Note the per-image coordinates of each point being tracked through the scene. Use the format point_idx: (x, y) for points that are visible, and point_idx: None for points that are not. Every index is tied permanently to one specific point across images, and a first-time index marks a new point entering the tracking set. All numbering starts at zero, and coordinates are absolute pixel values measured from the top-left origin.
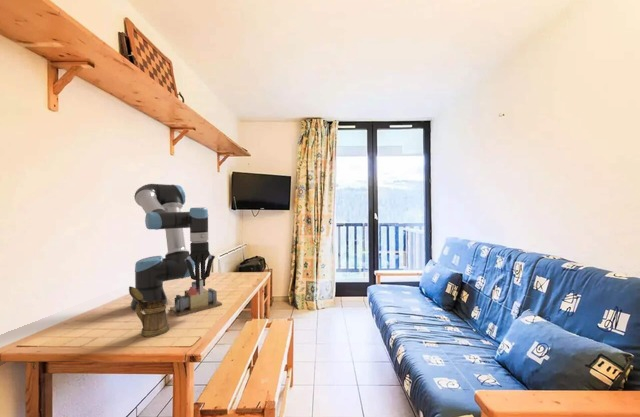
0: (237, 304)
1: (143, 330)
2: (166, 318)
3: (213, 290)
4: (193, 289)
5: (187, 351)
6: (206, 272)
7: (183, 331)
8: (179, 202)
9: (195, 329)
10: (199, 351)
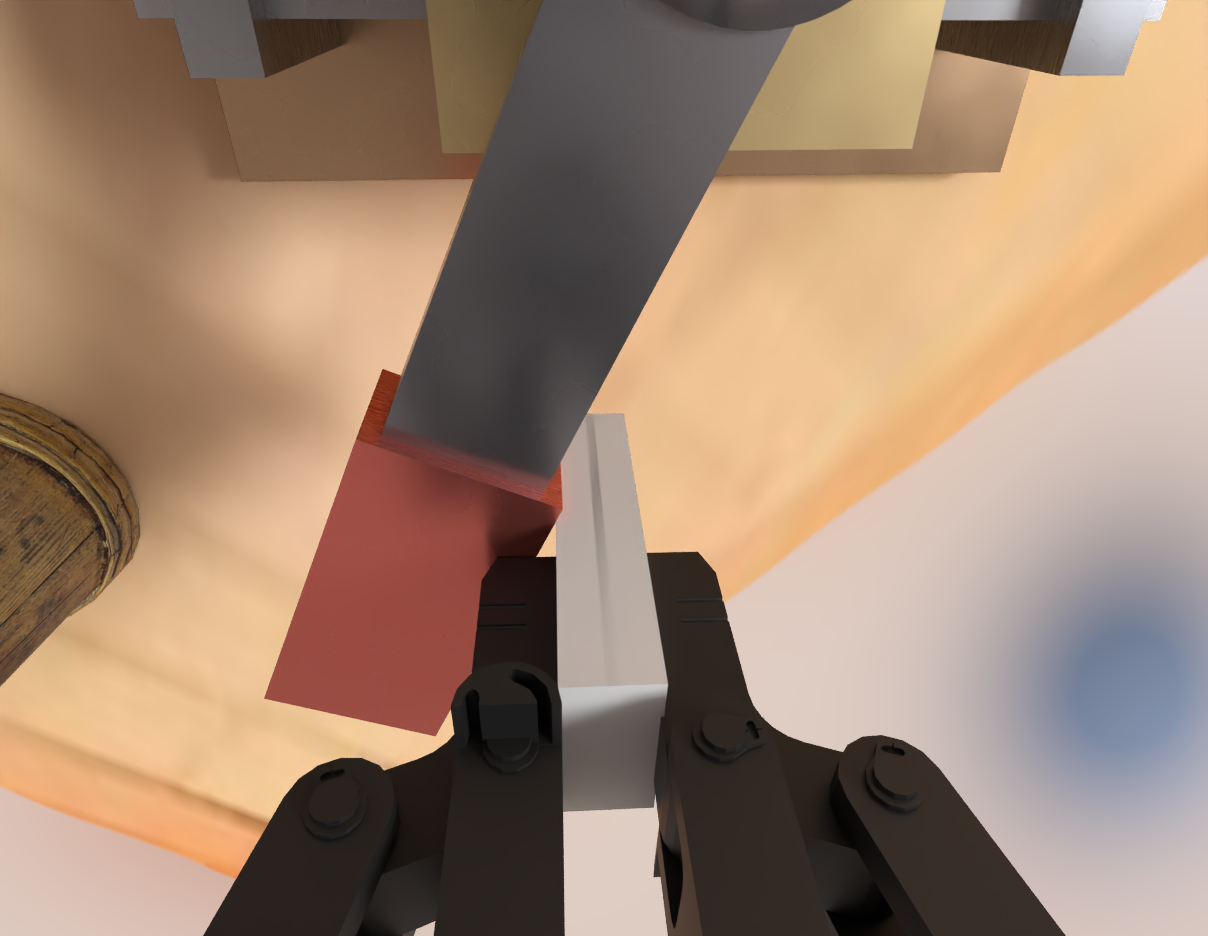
0: (1112, 308)
1: None
2: (44, 625)
3: (1099, 32)
4: (384, 688)
5: None
6: (933, 927)
7: (281, 643)
8: None
9: None
10: None
